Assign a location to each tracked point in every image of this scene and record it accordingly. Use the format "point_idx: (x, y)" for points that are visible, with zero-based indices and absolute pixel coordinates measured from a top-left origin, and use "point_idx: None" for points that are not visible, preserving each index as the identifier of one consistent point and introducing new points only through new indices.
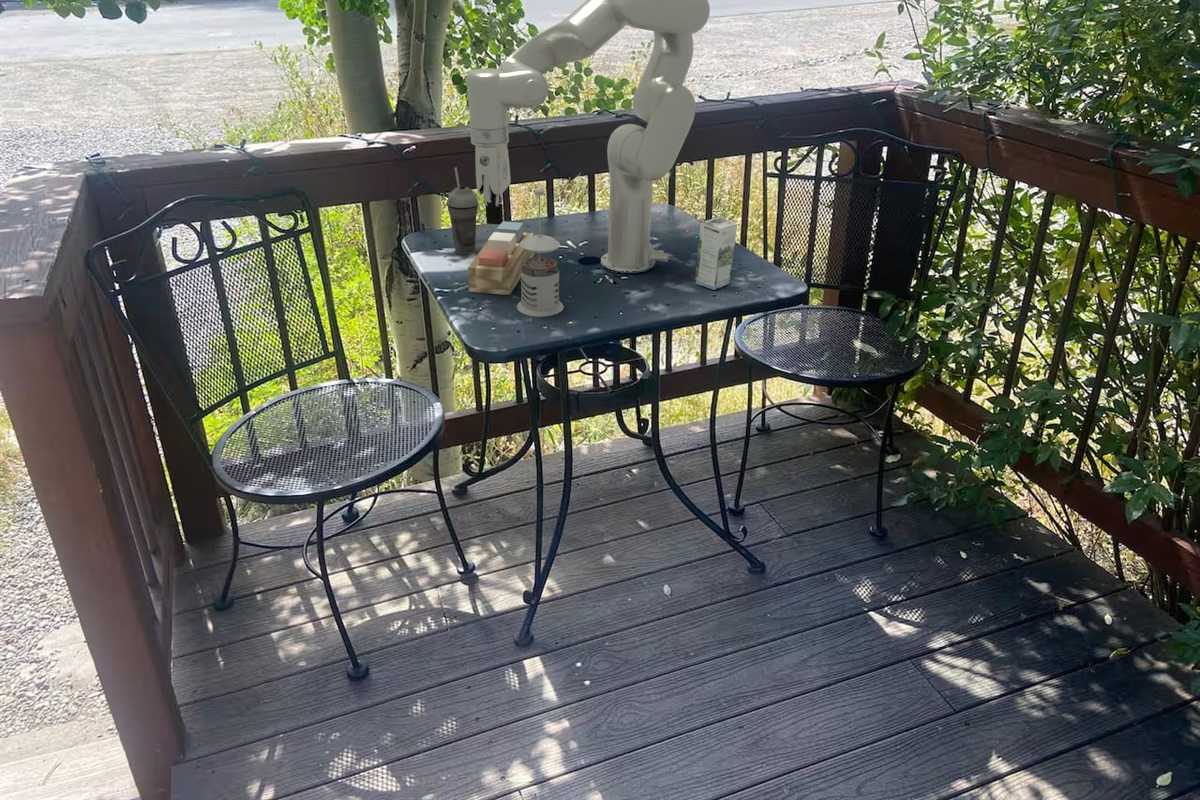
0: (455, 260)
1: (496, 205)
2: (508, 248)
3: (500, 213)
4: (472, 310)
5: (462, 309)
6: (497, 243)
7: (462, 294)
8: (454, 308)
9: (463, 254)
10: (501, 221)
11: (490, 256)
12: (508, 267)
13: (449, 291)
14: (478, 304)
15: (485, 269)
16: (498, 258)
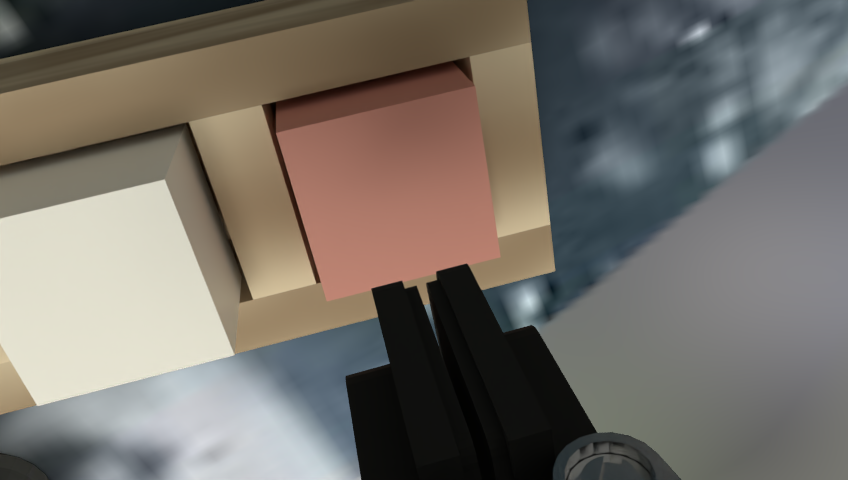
0: (143, 465)
1: (652, 467)
2: (181, 169)
3: (508, 348)
4: (730, 61)
5: (727, 115)
6: (211, 272)
7: (549, 211)
8: (723, 157)
9: (45, 478)
10: (464, 276)
11: (445, 199)
12: (458, 16)
13: (533, 283)
14: (650, 70)
15: (542, 158)
16: (462, 124)
